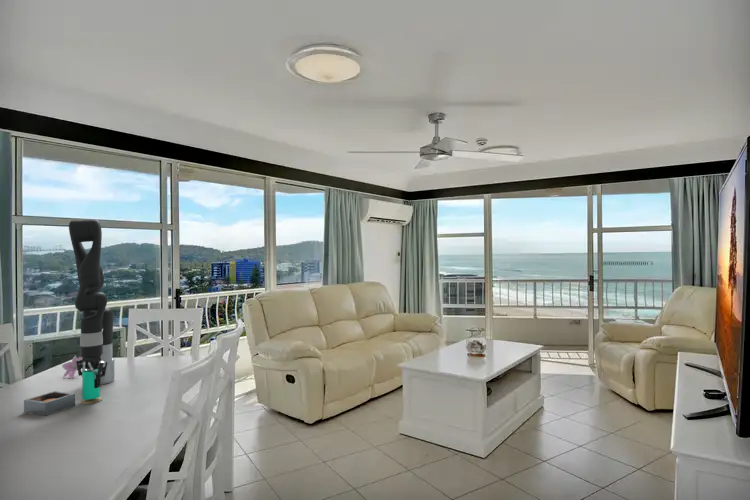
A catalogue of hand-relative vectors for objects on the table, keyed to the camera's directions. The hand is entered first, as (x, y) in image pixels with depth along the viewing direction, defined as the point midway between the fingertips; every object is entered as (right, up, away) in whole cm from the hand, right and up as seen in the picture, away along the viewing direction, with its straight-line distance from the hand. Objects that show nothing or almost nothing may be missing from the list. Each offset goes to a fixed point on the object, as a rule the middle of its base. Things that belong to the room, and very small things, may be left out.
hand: (91, 386), depth 170 cm
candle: (0, -4, 0) cm, 4 cm away
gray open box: (-10, -6, -8) cm, 14 cm away
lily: (-32, -7, +36) cm, 48 cm away
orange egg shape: (-10, -5, -8) cm, 14 cm away
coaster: (0, -6, 0) cm, 6 cm away
